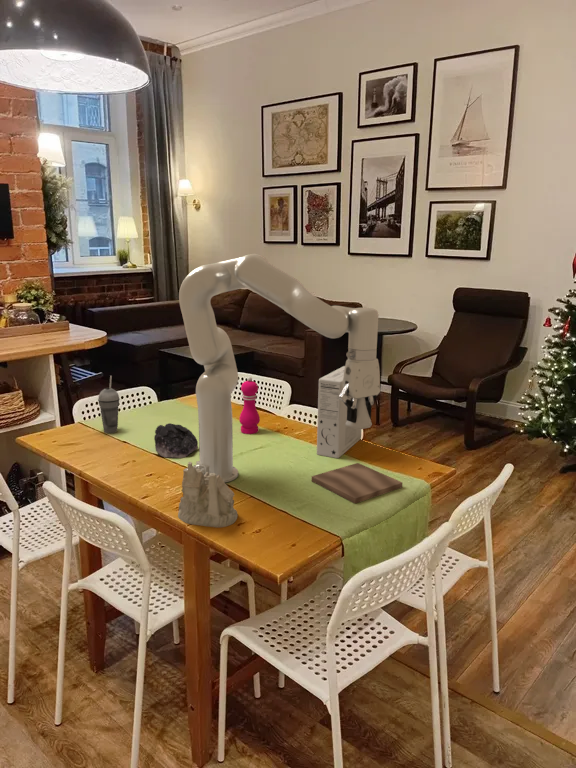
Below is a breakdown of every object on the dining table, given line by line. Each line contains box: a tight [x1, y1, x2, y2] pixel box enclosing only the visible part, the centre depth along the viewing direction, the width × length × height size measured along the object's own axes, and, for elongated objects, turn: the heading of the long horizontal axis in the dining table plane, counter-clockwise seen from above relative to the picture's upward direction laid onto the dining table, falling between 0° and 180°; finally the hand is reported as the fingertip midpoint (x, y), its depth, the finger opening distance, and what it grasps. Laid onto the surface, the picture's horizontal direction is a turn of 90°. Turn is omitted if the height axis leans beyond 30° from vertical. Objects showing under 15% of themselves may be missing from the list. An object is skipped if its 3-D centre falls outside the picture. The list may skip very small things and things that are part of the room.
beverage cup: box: [97, 375, 120, 434], centre depth 208 cm, size 7×7×20 cm
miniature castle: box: [177, 461, 238, 528], centre depth 149 cm, size 16×16×15 cm
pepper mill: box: [239, 376, 261, 435], centre depth 210 cm, size 7×7×20 cm
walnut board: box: [311, 462, 403, 505], centre depth 168 cm, size 18×18×2 cm
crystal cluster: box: [153, 422, 199, 459], centre depth 191 cm, size 13×14×10 cm
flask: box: [345, 398, 373, 430], centre depth 163 cm, size 7×7×10 cm
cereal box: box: [316, 365, 362, 459], centre depth 195 cm, size 22×8×25 cm, turn 154°
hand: (358, 419), depth 164 cm, fingers closed on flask, 4 cm apart
